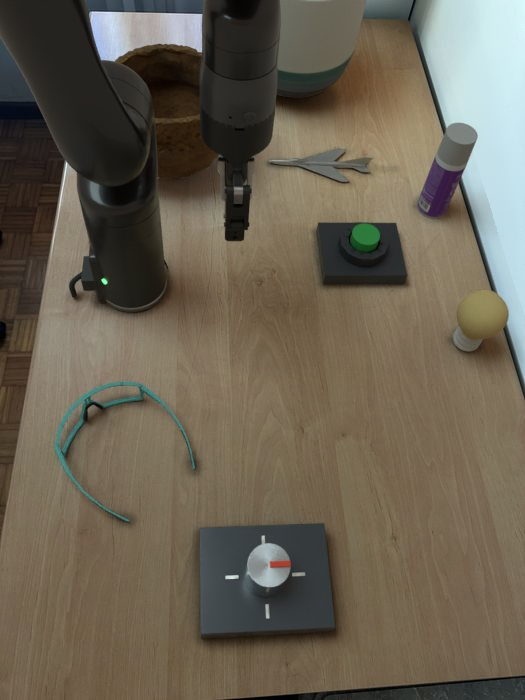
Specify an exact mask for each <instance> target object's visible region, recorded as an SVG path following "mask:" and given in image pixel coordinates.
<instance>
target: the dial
mask: <svg viewBox="0 0 525 700" xmlns="http://www.w3.org/2000/svg"><path fill="white" fill-rule="evenodd" d="M290 569H291V562H290V558H289V556H288V554H287V553H286V551H285V550H284V549H283V548H282V547H280V546H278V545H276V544H272V543H265V544H261V545H259V546H257V547H256V548H255V549H254V550H253V551H252V552H251V554H250V555H249V558H248V562H247V567H246V571H245V580H246V584H247V586H248V588H249V589H250V590H251V591H252V592H253V593H254V594H256V595H258V596H260V597H271V596H274V595H276V594H277V593H279V592H280V591H281V589H282V588H283V586H284V584H285V582H286V580H287V578H288V576H289V573H290Z"/></svg>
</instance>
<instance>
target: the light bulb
mask: <svg viewBox="0 0 525 700" xmlns="http://www.w3.org/2000/svg"><path fill="white" fill-rule="evenodd" d="M509 316H510V314H509V308H508V305H507V303H506V301H505V300H504V299H503V298H502V297H501V296H500V295H499V294H498V293H497V292H495V291H493V290H491V289H478V290H474V291H472V292H470V293H468V294H466V295H465V296H464V297H462V299H461V301H459V304H458V306H457V308H456V322H457V324H458V326H457V327H456V329H455V331H454V332H453V334H452V341H453V344H454V345H455V346H456V348H458V349H459V350H461V351H463V352H468V353H469V352H474V351H475V350H477V349H478V348H479V347H480V345H481V344H482V342H483V341H484V340H487V339H490V338H493V337H496V336H497V335H499V334H500V333H501V332H502V331H503V330H504V329H505V328H506V326H507V323H508V320H509Z"/></svg>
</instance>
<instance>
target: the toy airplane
mask: <svg viewBox="0 0 525 700" xmlns="http://www.w3.org/2000/svg"><path fill="white" fill-rule="evenodd" d="M346 151H347V149H346V148H340V147H338V148H333V149H331V150H328V151H324V152H320V153H317V154H314V155H313V154H312V155H310V156H306V157H304V158H300V157H299V158H296V157H295V158H294V157H293V158H274V159H269V160H268V162H269V164H272V165H273V164H274V165H278V166H279V165H280V166H294V167H301V168H304V169H307V170H309V171H312V172H314V173H317V174H320V175H323V176H325V177H328V178H330V179H333V180H335V181H339V182H341V183H343V182H344V183H345V182H350V179H348V178H347V177H346V176H345V175H343V173H342V172H340V171H339V170H337V169H354V170H357V171H359V172H361V173H371V170H369V169H368V168H367V164H368V163H371V161H373V160H374V159H375V157H367V156H365V157H359V158H354V159H349V160H348V159H347V160H341V161H340V160H338V161H337V159H339V157H341V155H342V154H344V153H345V152H346ZM374 167H376V164H375V165H374ZM382 167H383V168H385V166H384V165H383V166H382Z"/></svg>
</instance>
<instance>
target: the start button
mask: <svg viewBox="0 0 525 700" xmlns="http://www.w3.org/2000/svg"><path fill="white" fill-rule="evenodd" d="M379 239H380V233H379V231H378V229H377V228H376V227H374V226H373V225H370V224H365V223H364V224H359V225H357V226H355V227H354V229H353V231H352V235H351V238H350V243H351V245H352V247H353V248H354V249H356V250H357V251H360V252H364V253H368V252H371V251H373V250H375V249H376V247H377V245H378V242H379Z"/></svg>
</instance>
